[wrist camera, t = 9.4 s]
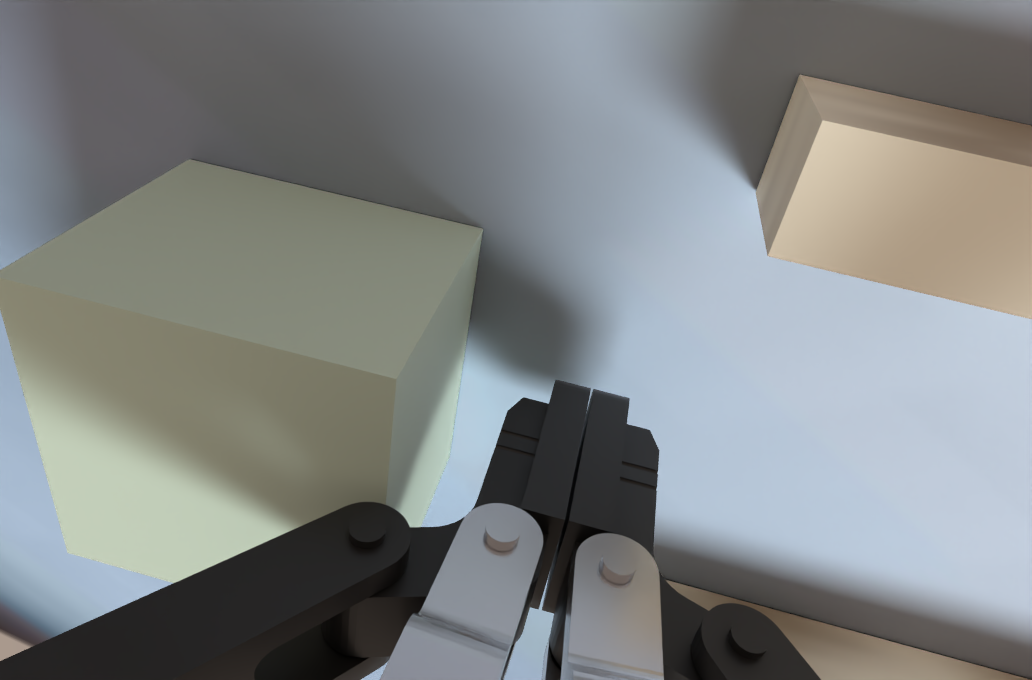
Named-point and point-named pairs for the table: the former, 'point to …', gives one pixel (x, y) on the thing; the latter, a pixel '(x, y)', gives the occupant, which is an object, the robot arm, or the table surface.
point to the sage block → (237, 363)
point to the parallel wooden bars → (895, 263)
